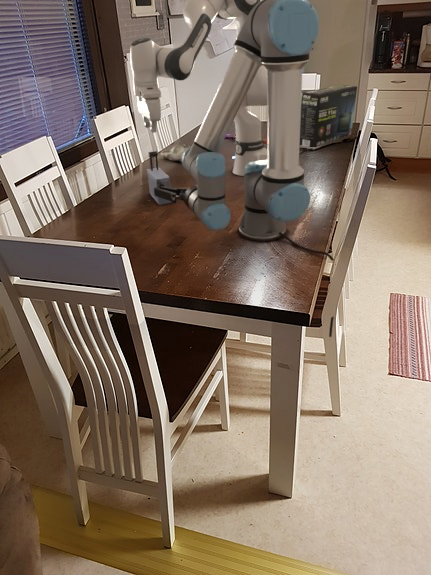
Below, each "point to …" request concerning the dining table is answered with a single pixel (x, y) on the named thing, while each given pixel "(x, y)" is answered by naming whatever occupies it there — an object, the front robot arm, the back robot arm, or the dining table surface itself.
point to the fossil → (175, 152)
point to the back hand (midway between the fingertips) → (150, 129)
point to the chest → (151, 188)
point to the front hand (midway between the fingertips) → (178, 180)
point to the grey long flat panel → (156, 169)
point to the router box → (326, 114)
